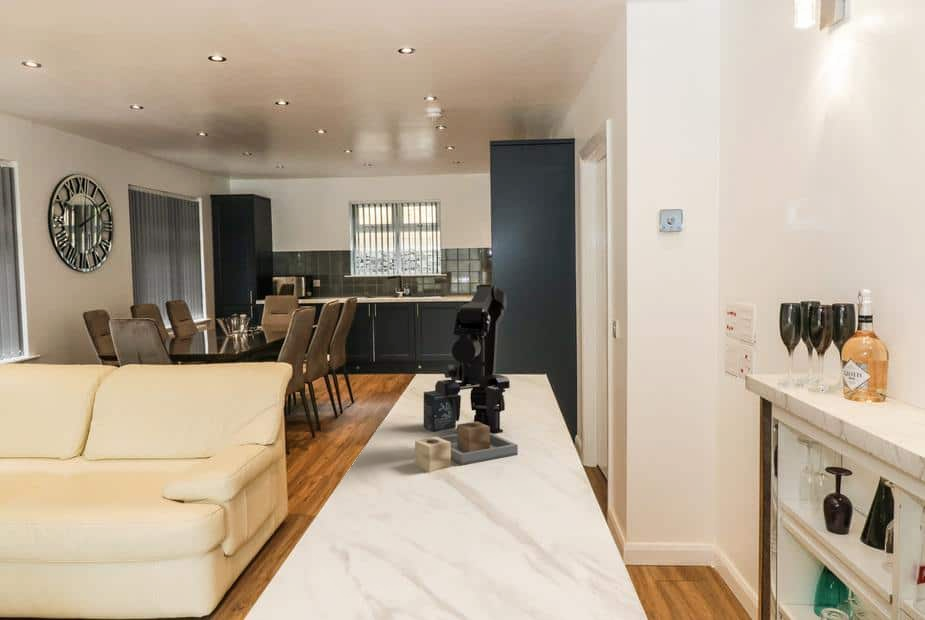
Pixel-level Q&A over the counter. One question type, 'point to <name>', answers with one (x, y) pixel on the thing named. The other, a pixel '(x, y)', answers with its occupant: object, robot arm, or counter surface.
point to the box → (437, 412)
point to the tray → (496, 450)
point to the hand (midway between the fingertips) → (473, 418)
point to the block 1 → (433, 454)
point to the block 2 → (473, 436)
